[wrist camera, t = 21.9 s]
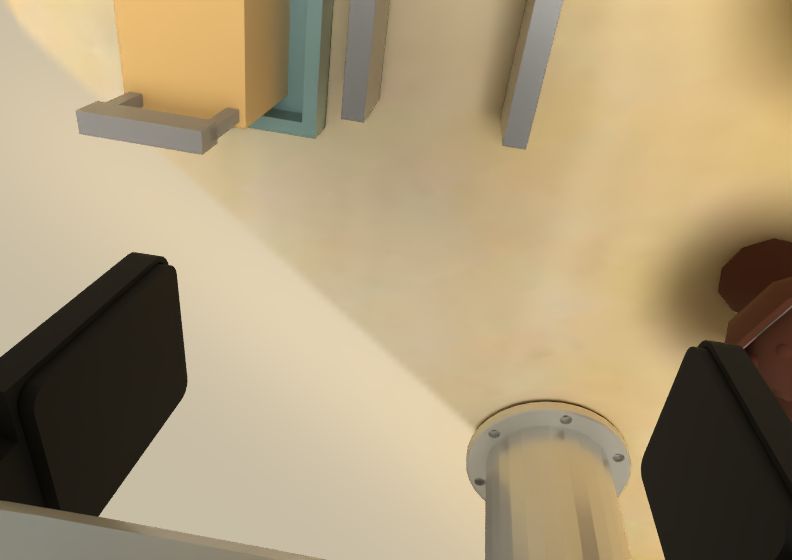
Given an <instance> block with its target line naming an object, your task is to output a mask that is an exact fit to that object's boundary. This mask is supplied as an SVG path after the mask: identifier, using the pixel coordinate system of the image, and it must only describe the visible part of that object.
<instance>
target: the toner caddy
mask: <svg viewBox="0 0 792 560" xmlns="http://www.w3.org/2000/svg"><path fill="white" fill-rule="evenodd" d="M114 7H115V16H116V25H117V33H118V42H119V51H120V59H121V68H122V77H123V85H124V95H121V96H119V97H117V98H115V99H112V100H110V101H108V102H100V101H97V102H94V103H92V104H90V105H88V106H85V107H83V108H81V109H78V110H76V115H77V121H78V127H79V134H83V135H89V136H95V137H101V138H107V139H113V140H119V141H125V142H131V143H136V144H142V145H148V146H154V147H160V148H166V149H172V150H178V151H184V152H190V153H196V154H202V155H203V154H204V153H205V152H207V151H208V150H209V149H210V148H212V147H213V146H214V145H216V144H217V139H218V138H219V137H220V136H222V135H223V134H224V133H225V132H227V131H228V130H229V129H231V128H232V127H236V128H242V129H246V128H248V127H249V126H250V125H251V124H252V123H254V122H255V121H256V120H257V119H259V118H260V117H261V116H262V115H264V114H265V113H266V112H267V111H269V110H270V109H271V108H272V107H274V106H275V105H276V104H277V103H279V102H280V101H281V100H282V99H284V98H285V97H286V96H287V95H288V64H289V27H290V0H114Z"/></svg>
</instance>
